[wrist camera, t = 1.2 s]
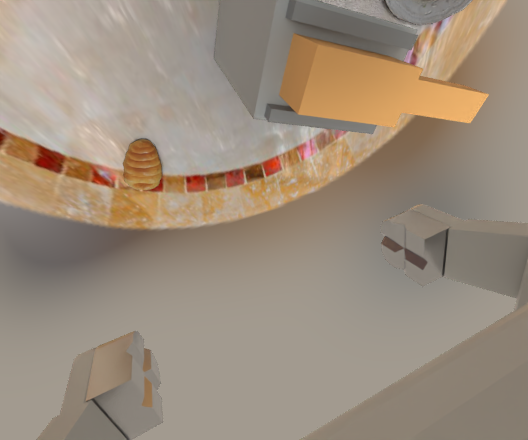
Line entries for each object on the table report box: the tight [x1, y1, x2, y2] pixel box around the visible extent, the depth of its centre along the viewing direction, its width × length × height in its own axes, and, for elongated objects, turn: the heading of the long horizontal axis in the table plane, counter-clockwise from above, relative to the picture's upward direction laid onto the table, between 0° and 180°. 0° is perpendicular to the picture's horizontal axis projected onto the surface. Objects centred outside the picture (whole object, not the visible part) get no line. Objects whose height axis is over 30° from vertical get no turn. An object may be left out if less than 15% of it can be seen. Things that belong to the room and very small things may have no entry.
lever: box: [279, 33, 489, 127], centre depth 27 cm, size 5×21×5 cm, turn 78°
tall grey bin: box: [214, 0, 418, 134], centre depth 36 cm, size 10×14×28 cm
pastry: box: [123, 139, 162, 190], centre depth 53 cm, size 9×7×4 cm
